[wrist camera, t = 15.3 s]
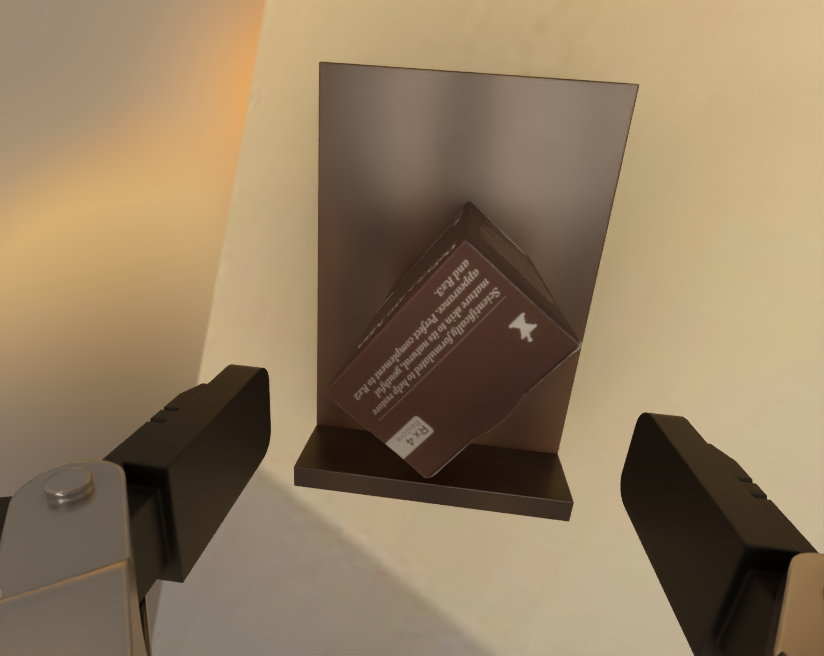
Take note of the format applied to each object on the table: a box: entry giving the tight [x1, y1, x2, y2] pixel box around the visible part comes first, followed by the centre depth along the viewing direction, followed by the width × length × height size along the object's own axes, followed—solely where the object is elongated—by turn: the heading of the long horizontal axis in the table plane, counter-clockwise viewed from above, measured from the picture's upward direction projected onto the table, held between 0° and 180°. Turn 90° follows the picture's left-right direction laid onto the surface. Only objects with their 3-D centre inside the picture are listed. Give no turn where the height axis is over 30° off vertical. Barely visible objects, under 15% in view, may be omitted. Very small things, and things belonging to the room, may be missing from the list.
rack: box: [294, 62, 639, 521], centre depth 24 cm, size 14×20×9 cm
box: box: [325, 202, 582, 478], centre depth 18 cm, size 6×4×12 cm
